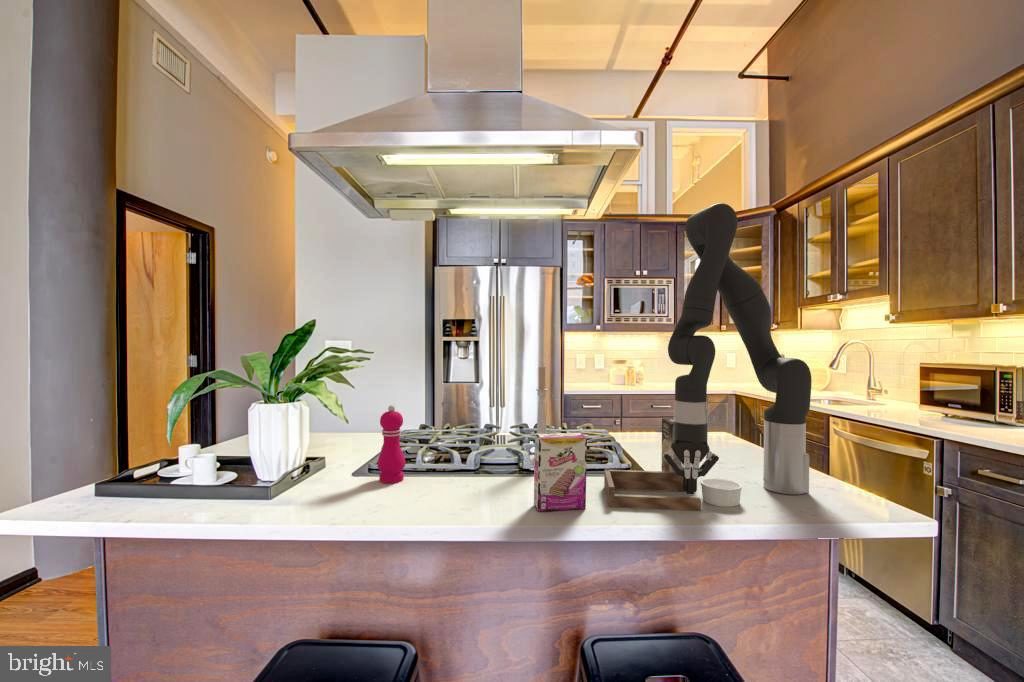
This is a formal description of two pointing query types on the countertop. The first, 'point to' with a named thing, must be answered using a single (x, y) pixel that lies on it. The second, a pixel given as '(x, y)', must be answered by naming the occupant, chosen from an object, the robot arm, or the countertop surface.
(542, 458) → the candy bar box
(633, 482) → the open wooden box
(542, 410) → the candlestick
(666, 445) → the coffee box
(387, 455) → the pepper mill
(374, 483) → the countertop surface
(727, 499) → the ramekin
